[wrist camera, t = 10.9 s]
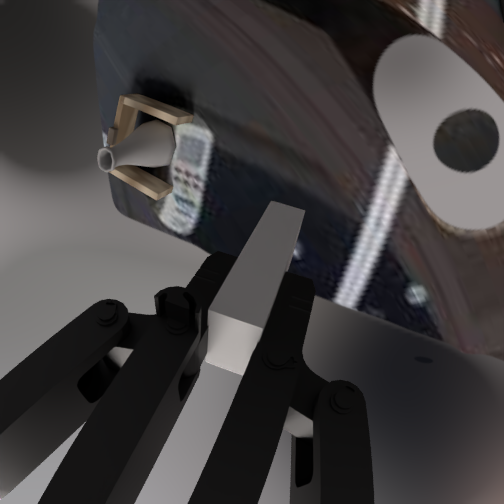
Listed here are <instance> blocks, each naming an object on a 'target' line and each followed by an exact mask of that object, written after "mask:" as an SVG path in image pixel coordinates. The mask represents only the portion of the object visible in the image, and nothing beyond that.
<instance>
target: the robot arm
mask: <svg viewBox="0 0 504 504" xmlns="http://www.w3.org/2000/svg"><path fill="white" fill-rule="evenodd" d="M304 213H305V210H301V209H298V208H295V207H291V206H288V205H284V204H281V203H277V202H274V201H271V202H270V204H269V206H268V207H267V209H266V211H265V212H264V214H263V216H262V218H261V219H260V221H259V223H258V224H257V226H256V228H255V230H254V231H253V233H252V235H251V236H250V238H249V240H248V242H247V243H246V245H245V247H244V248H243V250H242V252H241V254H240V255H239V257H235V256H232V255H229V254H226V253H223V252H220V251H217V252H216V253H214V254H212V255H210V256H209V257H207V258H206V260H205V261H204V263H203V264H202V265H201V267H200V269H199V270H198V271H197V272H196V274H195V276H194V277H193V278H192V280H191V281H190V282H189V284H188V285H187V287H186V288H183V287H179V286H176V287H168V288H165V289H163V290H160V291H159V292H158V293H157V294H156V295H155V296H154V298H155V306H156V314H155V315H144V314H136V313H128V309H127V308H126V307H125V305H124V304H123V303H122V302H120V301H118V300H113V299H106V300H101V301H99V302H97V303H95V304H93V305H92V306H91V307H89V308H88V309H87V310H86V311H84V312H83V313H82V314H80V315H79V316H78V317H76V318H75V319H74V320H73V321H71V322H70V323H69V324H67V325H66V326H65V327H64V328H62V329H61V330H60V331H59V332H58V333H56V334H55V335H54V336H52V337H51V338H50V339H49V340H47V341H46V342H45V343H44V344H42V345H41V346H40V347H39V348H37V349H36V350H35V351H34V352H33V353H31V354H30V355H29V356H28V357H27V358H25V359H24V360H23V361H22V362H21V363H19V364H18V365H17V366H16V367H15V368H14V369H12V370H11V371H10V372H9V373H8V374H7V375H5V376H4V377H3V378H2V379H1V380H0V499H2V498H3V497H4V496H6V495H7V494H8V493H9V492H11V491H12V490H13V489H14V488H15V487H16V486H17V485H18V484H19V483H20V482H21V481H23V480H24V479H25V477H27V476H28V475H29V474H30V473H31V472H32V471H33V470H34V469H35V468H36V467H38V466H39V465H40V464H41V463H42V462H43V461H44V460H45V459H46V458H47V457H48V456H49V455H50V454H52V453H53V452H54V451H55V450H56V449H57V448H58V447H59V446H60V445H61V444H62V443H63V442H64V441H65V440H66V439H67V438H69V437H70V436H71V435H72V434H73V433H74V432H75V431H76V430H77V429H78V428H79V427H80V426H81V425H82V424H84V422H86V423H85V424H84V426H83V428H82V429H81V431H80V432H79V434H78V436H77V438H76V439H75V441H74V442H73V444H72V446H71V447H70V449H69V450H68V452H67V454H66V455H65V457H64V459H63V461H62V462H61V464H60V466H59V467H58V469H57V471H56V472H55V474H54V476H53V477H52V479H51V481H50V483H49V485H48V486H47V488H46V490H45V492H44V493H43V495H42V497H41V499H40V501H39V502H38V504H134V503H135V501H136V499H137V497H138V495H139V493H140V491H141V490H142V488H143V486H144V484H145V481H146V480H147V478H148V476H149V474H150V472H151V470H152V468H153V466H154V464H155V462H156V460H157V458H158V456H159V454H160V452H161V450H162V448H163V446H164V444H165V443H166V441H167V439H168V437H169V435H170V433H171V431H172V429H173V427H174V425H175V423H176V421H177V419H178V416H179V415H180V413H181V411H182V409H183V407H184V405H185V403H186V401H187V399H188V397H189V395H190V393H191V391H192V389H193V387H194V385H195V383H196V381H197V379H198V377H199V373H200V366H201V364H202V362H203V360H204V358H205V356H206V362H207V363H210V364H213V365H215V366H218V367H220V368H223V369H226V370H229V371H232V372H234V373H237V374H240V375H243V378H242V380H241V382H240V385H239V387H238V390H237V392H236V394H235V397H234V399H233V402H232V404H231V407H230V409H229V412H228V414H227V416H226V418H225V421H224V423H223V425H222V428H221V430H220V432H219V435H218V437H217V439H216V442H215V444H214V446H213V449H212V451H211V453H210V455H209V458H208V460H207V462H206V465H205V467H204V469H203V471H202V473H201V476H200V478H199V480H198V482H197V485H196V487H195V489H194V491H193V493H192V495H191V498H190V500H189V502H188V504H258V501H259V498H260V495H261V493H262V490H263V487H264V484H265V482H266V479H267V476H268V473H269V470H270V467H271V464H272V461H273V458H274V455H275V452H276V449H277V446H278V442H279V439H280V436H281V433H282V430H283V429H285V430H286V431H288V432H290V433H291V434H292V445H291V446H292V447H291V486H290V504H374V488H373V472H372V458H371V447H370V437H369V427H368V418H367V410H366V402H365V399H364V396H363V393H362V392H361V391H360V390H359V388H358V387H357V386H356V385H354V384H352V383H351V382H348V381H343V380H337V381H331V382H330V383H329V382H328V381H326V380H324V379H322V378H321V377H320V376H318V375H316V374H315V373H314V372H313V371H311V370H310V369H309V367H308V366H307V365H306V363H305V361H304V359H303V354H302V348H303V344H304V339H305V335H306V331H307V327H308V323H309V319H310V313H311V310H312V305H313V301H314V296H315V292H316V291H315V287H314V284H313V281H312V279H309V278H306V277H302V276H299V275H296V274H293V273H289V272H287V271H288V268H289V265H290V262H291V259H292V256H293V252H294V249H295V245H296V242H297V238H298V235H299V231H300V227H301V224H302V220H303V217H304Z"/></svg>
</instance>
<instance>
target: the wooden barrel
mask: <svg viewBox="0 0 504 504" xmlns="http://www.w3.org/2000/svg"><path fill="white" fill-rule="evenodd" d="M500 3H501V9H502V16H503V23H504V0H500Z"/></svg>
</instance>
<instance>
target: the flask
mask: <svg viewBox="0 0 504 504" xmlns="http://www.w3.org/2000/svg"><path fill="white" fill-rule="evenodd" d="M175 148H176V146H175V141H174V137H173V132H172V127H170V126H168V125H166V124H165V123H163V122H161V121H159V120H157V119H156V120H153V121H149V122H146V123H143V124H141V125H140V126H139V127H138V128H137V129H136V130H134V131H133V132H132V133H131V134H130V135H129V136H127V137H126V138H125V139H124V140H123V141H121V142H120V143H118V144H117V145H115V146H113V147H111V148H109V147H108V146H106V147H103V148H101V149H99V150H98V156H97V160H98V164H99V168H100V169H102V170H103V171H104V172H109V171H113V170H114V169H115V167H117V166H120V165H138V166H146V167H153V168H156V167H161V166H167V165H170V162H171V159H172V156H173V154H174V151H175Z"/></svg>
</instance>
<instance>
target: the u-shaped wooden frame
mask: <svg viewBox="0 0 504 504" xmlns="http://www.w3.org/2000/svg"><path fill="white" fill-rule="evenodd" d="M138 110H140V111H143V112H145V113H148V114H150V115H153V116H155V117H157V118H160V119H162V120H165V121H167V122H169V123H172V124H174V125H179V124H184V123H189V122H192V119H193V116H194V115H192V114H190V113H187V112H185V111H182V110H180V109H177V108H175V107H172V106H170V105H167V104H165V103H162V102H159V101H157V100H154V99H151V98H149V97H146V96H143V95H140V94H127V95H120V99H119V103H118V108H117V112H116V117H115V122H114V127H110V128H109V132H108V137H107V143H108V144H110V148H111V147H113V146H115V145H117V144H118V143H120V142H121V141H123V140H124V139H125V138H126V137H127V136H129V135H130V134H131V133H132V132H133V131H134V127H135V122H136V118H137V113H138ZM109 172H110V173H111V174H113V175H115V176H116V177H118V178H120V179H121V180H123V181H125V182H127V183H128V184H130V185H132V186H133V187H135V188H137V189H138V190H140V191H142V192H143V193H145V194H147V195H148V196H150V197H152V198H153V199H155V200H158V199H160V198H162V197H164V196H166V195H168V194H170V193H172V189H173V186H171V185H169V184H167V183H166V182H164V181H162V180H160V179H158V178H157V177H155V176H153V175H151V174H149V173H148V172H146V171H144V170H142V169H140V168H138V167H137V166H135V165H120V166H117V167H115V169H114V170H113V171H109Z"/></svg>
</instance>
